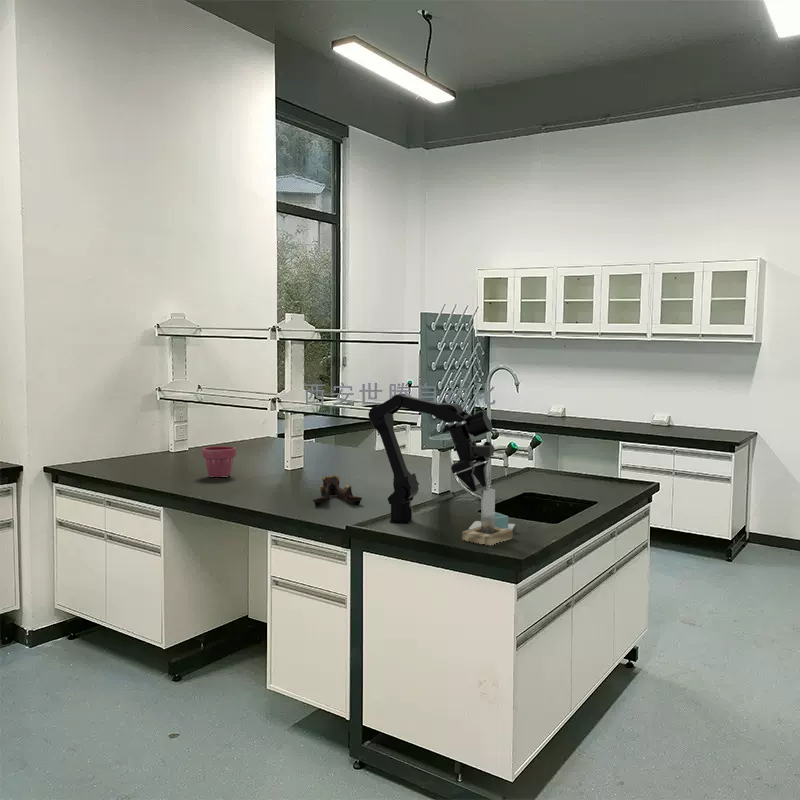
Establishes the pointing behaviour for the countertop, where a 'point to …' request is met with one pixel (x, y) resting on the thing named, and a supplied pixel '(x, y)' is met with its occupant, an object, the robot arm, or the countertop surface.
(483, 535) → the wooden frame
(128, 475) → the countertop surface
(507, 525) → the plate with teal chevron
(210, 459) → the plant pot
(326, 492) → the dark brown branching piece
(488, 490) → the silver metal cylinder
